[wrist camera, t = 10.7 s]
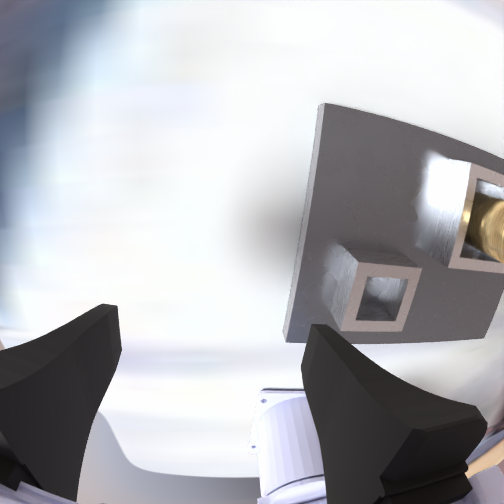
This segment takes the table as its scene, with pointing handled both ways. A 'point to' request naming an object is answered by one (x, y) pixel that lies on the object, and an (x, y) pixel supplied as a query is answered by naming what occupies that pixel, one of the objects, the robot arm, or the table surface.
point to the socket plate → (392, 234)
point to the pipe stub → (487, 226)
